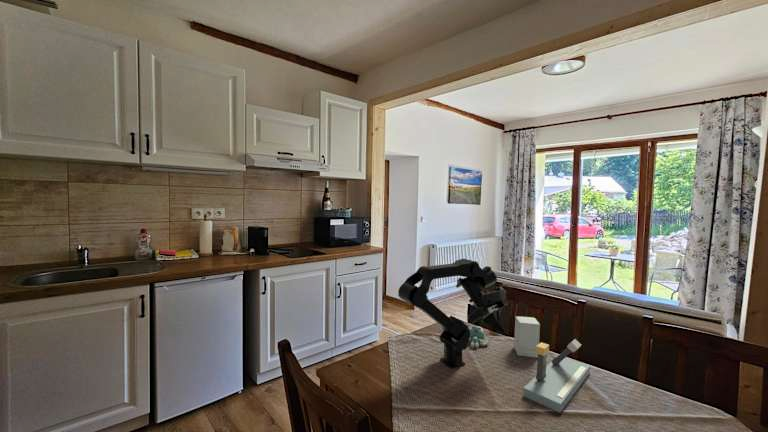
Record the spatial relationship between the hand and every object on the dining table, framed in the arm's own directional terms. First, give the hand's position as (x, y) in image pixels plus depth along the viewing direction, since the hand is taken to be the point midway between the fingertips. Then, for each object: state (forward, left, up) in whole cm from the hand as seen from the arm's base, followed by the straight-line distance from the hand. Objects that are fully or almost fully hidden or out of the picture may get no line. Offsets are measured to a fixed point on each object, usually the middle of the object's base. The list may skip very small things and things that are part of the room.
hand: (504, 332), depth 106 cm
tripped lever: (+11, +4, -10) cm, 16 cm away
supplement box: (-8, +19, -14) cm, 25 cm away
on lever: (+7, +17, -10) cm, 21 cm away
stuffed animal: (-21, +6, -14) cm, 26 cm away
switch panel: (+12, +12, -14) cm, 21 cm away
